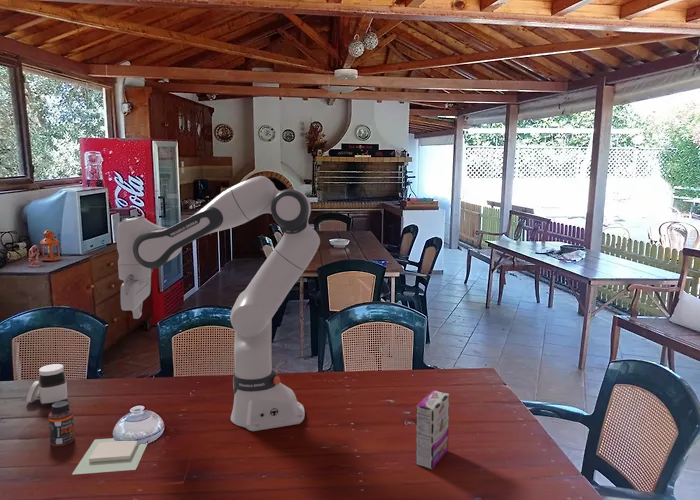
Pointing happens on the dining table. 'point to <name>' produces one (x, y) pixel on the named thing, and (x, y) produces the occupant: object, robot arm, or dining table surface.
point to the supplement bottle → (61, 424)
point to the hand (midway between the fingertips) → (137, 317)
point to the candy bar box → (432, 429)
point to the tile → (113, 451)
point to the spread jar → (49, 385)
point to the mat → (108, 466)
